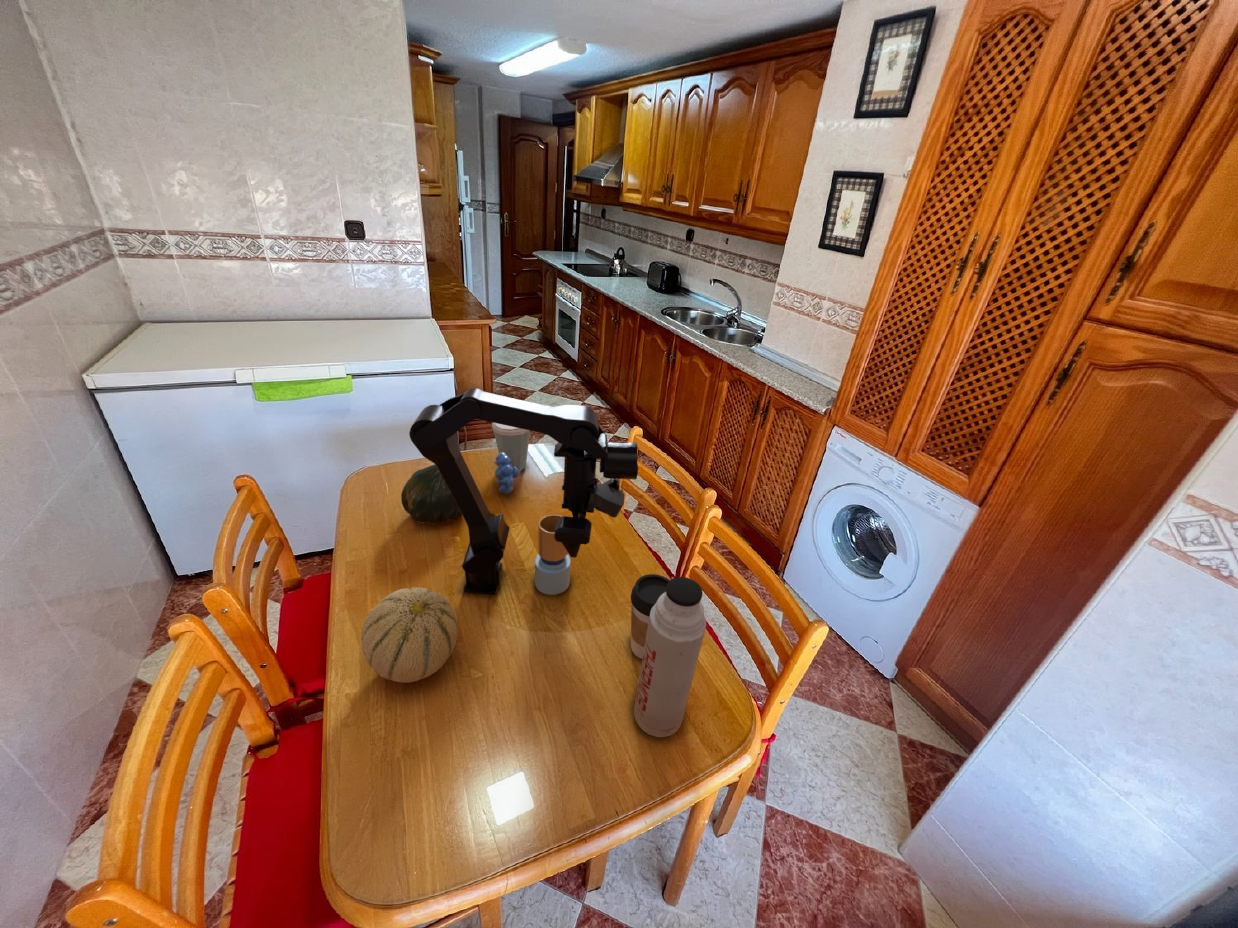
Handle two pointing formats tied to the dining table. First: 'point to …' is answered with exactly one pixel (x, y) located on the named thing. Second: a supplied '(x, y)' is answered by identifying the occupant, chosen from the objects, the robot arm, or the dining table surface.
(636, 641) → the coffee cup
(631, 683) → the dining table surface
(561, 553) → the cup
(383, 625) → the cantaloupe
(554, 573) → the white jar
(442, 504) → the squash
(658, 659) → the thermos bottle
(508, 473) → the grapes
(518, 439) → the disposable coffee cup
